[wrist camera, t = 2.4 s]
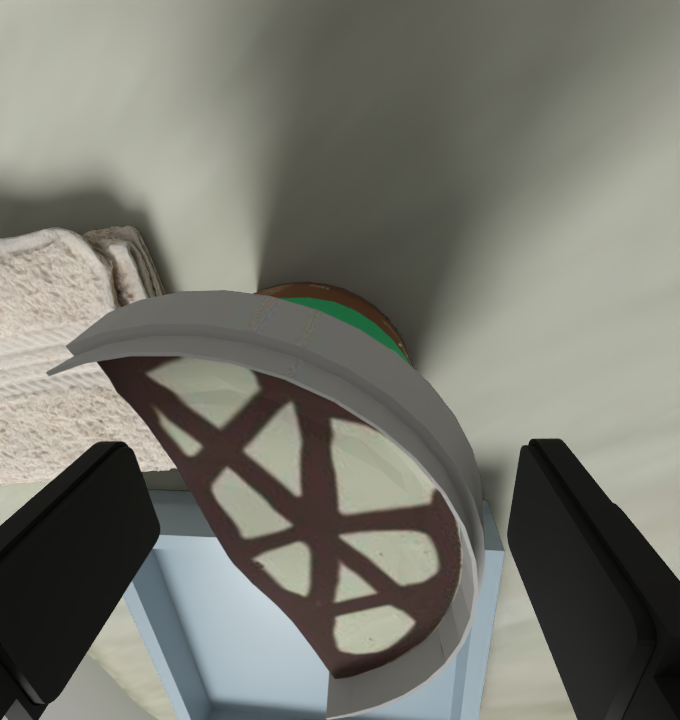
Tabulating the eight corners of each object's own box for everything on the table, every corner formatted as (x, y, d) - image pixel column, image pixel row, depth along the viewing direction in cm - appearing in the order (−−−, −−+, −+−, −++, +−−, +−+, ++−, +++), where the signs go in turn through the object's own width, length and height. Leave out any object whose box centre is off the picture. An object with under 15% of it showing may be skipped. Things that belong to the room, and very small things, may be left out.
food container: (474, 445, 18) (572, 707, 8) (357, 479, 19) (335, 731, 10) (374, 191, 14) (356, 167, 4) (239, 260, 15) (22, 346, 6)
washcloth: (237, 437, 20) (213, 476, 17) (-22, 473, 23) (-79, 511, 20) (144, 203, 15) (89, 203, 12) (-158, 290, 19) (-255, 305, 16)
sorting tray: (486, 500, 19) (504, 551, 16) (459, 724, 27) (468, 782, 25) (131, 489, 21) (93, 531, 18) (208, 697, 30) (190, 747, 27)
